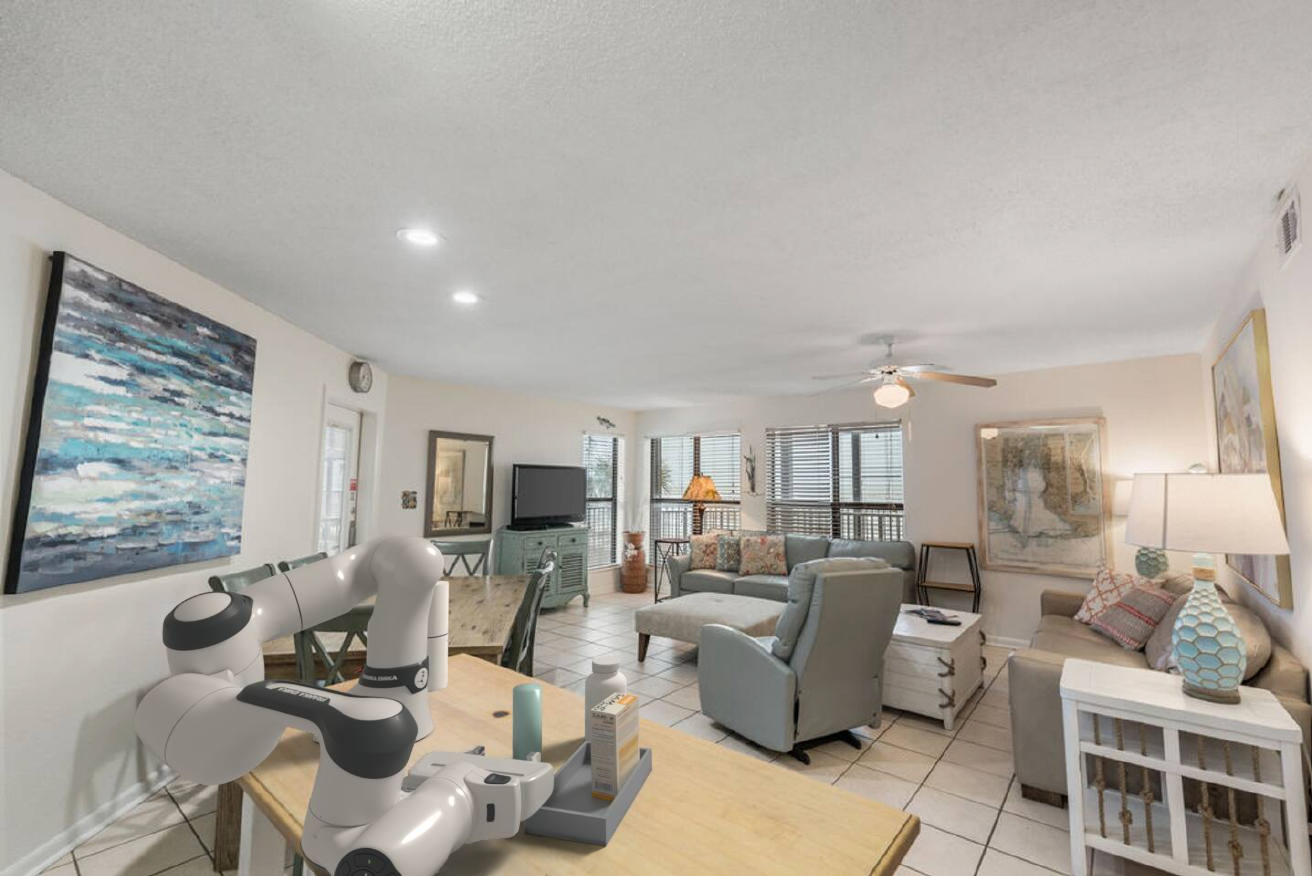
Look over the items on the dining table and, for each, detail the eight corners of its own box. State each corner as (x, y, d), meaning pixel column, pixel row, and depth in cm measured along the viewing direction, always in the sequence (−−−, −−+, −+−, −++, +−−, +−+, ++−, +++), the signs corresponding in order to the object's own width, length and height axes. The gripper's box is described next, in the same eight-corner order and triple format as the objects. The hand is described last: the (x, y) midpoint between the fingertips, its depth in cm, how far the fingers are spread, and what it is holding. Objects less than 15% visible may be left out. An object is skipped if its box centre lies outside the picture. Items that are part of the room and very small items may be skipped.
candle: (506, 770, 96) (507, 691, 98) (521, 756, 101) (522, 681, 102) (533, 773, 95) (533, 693, 96) (547, 759, 100) (546, 684, 101)
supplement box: (615, 772, 94) (614, 690, 95) (641, 778, 92) (639, 694, 93) (589, 797, 86) (588, 708, 87) (617, 804, 84) (616, 713, 86)
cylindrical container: (410, 691, 136) (412, 585, 138) (426, 681, 143) (428, 580, 145) (437, 692, 135) (439, 585, 137) (452, 682, 142) (454, 581, 144)
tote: (524, 832, 79) (524, 805, 79) (585, 761, 99) (585, 740, 99) (606, 846, 75) (605, 818, 76) (651, 769, 96) (651, 748, 96)
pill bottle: (621, 752, 102) (620, 667, 104) (579, 749, 104) (578, 665, 105) (631, 733, 110) (630, 654, 111) (592, 731, 112) (591, 653, 113)
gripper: (385, 817, 75) (447, 767, 88) (525, 838, 70) (569, 782, 83) (387, 767, 76) (448, 725, 89) (526, 785, 71) (569, 738, 84)
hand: (508, 753), depth 86 cm, fingers open, 8 cm apart
